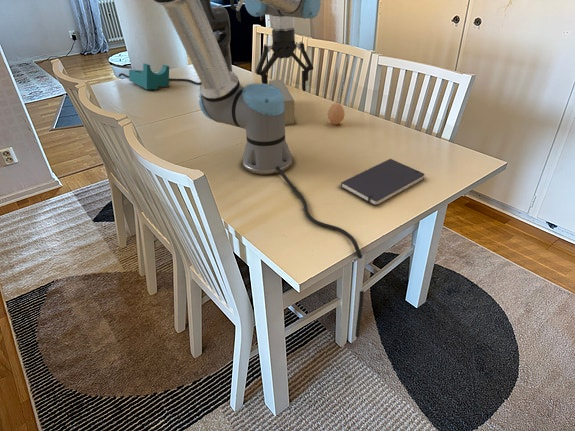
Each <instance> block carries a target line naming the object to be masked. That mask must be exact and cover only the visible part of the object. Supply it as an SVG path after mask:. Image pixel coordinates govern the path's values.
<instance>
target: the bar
mask: <svg viewBox="0 0 575 431" xmlns="http://www.w3.org/2000/svg"><path fill="white" fill-rule="evenodd" d="M268 84H269V85H272V86H275V87H277V88H278V89H279V90H280V91H281V92H282V94H283V96H284V104H285V126H289V125H295V99H294V97H293V95H292V94H291V92H290V90H289V89H288V87H287V85H286V83H285V81H284V80H283V79H273V80H271V79H270V80H268Z"/></svg>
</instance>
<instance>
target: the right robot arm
mask: <svg viewBox="0 0 575 431" xmlns="http://www.w3.org/2000/svg"><path fill="white" fill-rule="evenodd" d="M153 2H154V3H155V4H158V5H161V6H162V7H163V8H164V10H165V12H166V14H167V16H168V18H169V20H170V22H171V25H172V26H173V29H174V30H175V32H176V34H177V36H178V38H179V41H180V42H181V44H182V46H183V49H184V50H185V52H186V55H187V56H188V58H189V60H190V62H191V64H192V66H193V69H194V70H195V72H196V74H197V76H198V79H199V80H200V82H201V83H202V84H201V85H200V87H199V90H200V91H199V94H198V98H199V100H198V104H199V108H200V110H201V112H202V114H203V115H204V116H205V117H206V118H207V119H209V120H212V121H214V122H216V123H219V124H225V125H229V126H232V127H237V128H241V129H244V130H245V136H246V137H245V138H246V143H245V146H244V151H243V155H242V166H243V168H244V170H246V171H247V172H249V173H252V174H254V175H255V174H256V175H262V176H269V175H277V174H279V175H280V176H281V177H282V178H283V179H284V181H285V182H286V183H287V184H288V186H289V187H290V188H291V190H293V192H294V193H295V194H296V195H297V196H298V198H299V199H300V201H301V203H302V205H303V211H304V214H305V216H306V218H307V219H308V220H309V221H310V222H312V223H313V224H315V225H317V226H320V227H323V228H327V229H330V230H333V231H336V232H339V233H341V234H342V235H343V236H345V237H347V238H348V239H349V240H350V241H351V243H352V245H353V248H354V250H355V253H356V256H357V258H358V259H362V258H363V255H362V252H361V250H360V247H359V244H358V242H357V240H356V238H354V236H353V235H352V234H350V233H349V232H348V231H346V230H344V229H343V228H342V227H339V226H336V225H332V224H329V223H325V222H322V221H320V220H317V219H316V218H314V217H313V216H312V215H311V214H310V212H309V208H308V204H307V201H306V199H305V198H304V196H303V195H302V193H301V192H300V191H299V190H298V189H297V188H296V186H295V185H294V184H293V183H292V182H291V180H290V179H289V177H288V176H287V175H286V174H285V173H284V172H286V171H287V170H289V169H290V167H291V166H292V163H293V158H292V153H291V150H290V148H289V145H288V143H287V140H286V125H285V104H284V96H283V94H282V92H281V91H280V90H279V89H278V88H277V87H275V86H272V85H269V79H268V74H267V73H268V72H269V70H271V68H272V66H273V65H274V63H275V62H276V61H277V60H278V59H280V60H281V59H282V60H283V59H290V58H291V57H292V58H293V59H294V61H295V62H296V63H297V64H298V65H299V66H300V68H302V70H301V91H303V92H306V90H307V88H306V87H307V86H306V84H307V83H306V82H308V81H309V73H310V71H314V66H313V64H312V62H311V59H310V58H309V56H308V53H307V51H306V49H305V43H304V42H303V41H299V42H296V38H295V37H296V34H295V33H296V32H295V28H294V27H295V18H297V19H304V20H305V19H315V18H316V17H317V16H318V14H319V13H320V10H321V4H322V0H245V3H244V7H245V9H246V11H247V13H248V14H249V15H250V16H252V17H255V18H257V17H260V16H263V15H264V16H270V17H271V28H272V29H271V37H272V38H271V40H272V43H271V45H268V44H263V45H262V47H263V48H262V54H261V56H260V58H259V61H258V64H257V66H256V68H255V73H256V75H258V76H260V79H261V83H258V82H257V83H256V82H255V83H249V84H247V85H245V86H242V85H241V82H240V80H239V78H238V75H237V74H236V73H235V72H233V71H232V72H231V71H229V69H228V67H227V64H226V62H225V60H224V57H223V55H222V53H221V50H220V48H219V45H218V43H217V41H216V38H215V36H214V35H215V32H213V31H212V29H211V26H210V24H209V21H208V19H207V17H206V14H205V12H204V9H203V7H202V5H201V2H200V0H153ZM296 49H298V50H299V51H300V53H301V55H302V57H303V58H304V61H305V62H306V64H307V66H306V65H305V64H304V63H303V61H302V60H301V59H300V58H299V57H298V56H297V55H296V53H295V51H296ZM271 51H272V52H273V53H272V55H271V57H270V58H269V60H268V61H267V62H266V60H267V57H268V54H269V53H270V52H271ZM265 62H266V64H265ZM264 64H265V65H264ZM364 293H365V291H364V290H361V291H360V290H359V300H358V309H357V315H356V316H357V318H356V326H355V337H356V338H359V337H360V329H361V323H362V322H361V321H362V314H363V307H364V296H365V295H364Z"/></svg>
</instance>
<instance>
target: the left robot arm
mask: <svg viewBox="0 0 575 431" xmlns="http://www.w3.org/2000/svg"><path fill="white" fill-rule="evenodd" d="M229 1H230V9H231V10H234V11H235V15H236V16H235V17H236V20H237V21H238V22H242V18H241V11H240V10H241V8H242V6H243V5H244V4H245V0H239V1H238V3H237V4H236V5H235V0H229ZM200 2H201V5H202V7H203V9H204V12H205V14H206V17H207V19H208V21H209V24H210V26H211V29H212V31H213V33H214V36H215V38H216V41H217V43H218V45H219V48H220V50H221V53H222V55H223V57H224V60H225V62H226V64H227V67H228V69H229V71H231V72H233V66H232V54H231V46H230V44H231V22H230V16H229V13H228V11H227V9H226V8H225V7H224V6H213V7H212V3H211V0H200ZM264 18H265V15H263V16H259V20H260V21H263V20H264ZM122 76H123V77H125V78H127V79H129V75H127V74H125V73H122V72H121V73H119V74H118V77H119V78H120V77H122ZM171 81H172V82H189V83H192V84H194V85H197V86H201V84H202V83H201V81H200V82H197V81H194V80H192V79H189V78H170V77H169V82H171Z"/></svg>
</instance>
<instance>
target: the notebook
mask: <svg viewBox="0 0 575 431" xmlns="http://www.w3.org/2000/svg"><path fill="white" fill-rule="evenodd" d="M424 176H425V173H424V172H422V171H420V170H417V169H415V168H413V167H410V166H408V165H406V164H404V163H401V162H399V161H397V160H395V159H393V158H389V159H387V160H385V161H382V162H380V163H379V164H377V165H375V166H372V167H370V168H368V169H366V170H364V171H362V172H360V173H358V174H356V175H353V176H351V177H350V178H348V179H345V180H344V181H341V182H340V183H341V184H340V187H341V188H342V189H344V190H345V191H347V192H349V193H350V194H353V195H355V196H356V197H358V198H360V199H362V200H363V201H365V202H367V203H369V204H371V205H373V206H379V205H381V204H382V203H384V202H386V201H388V200H390V199H391V198H393V197H395V196H397V195H398V194H400V193H402V192H404V191H406V190H407V189H409V188H411V187H413V186H415V185H416V184H418V183H420V182H422V181H423V180H424Z"/></svg>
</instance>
